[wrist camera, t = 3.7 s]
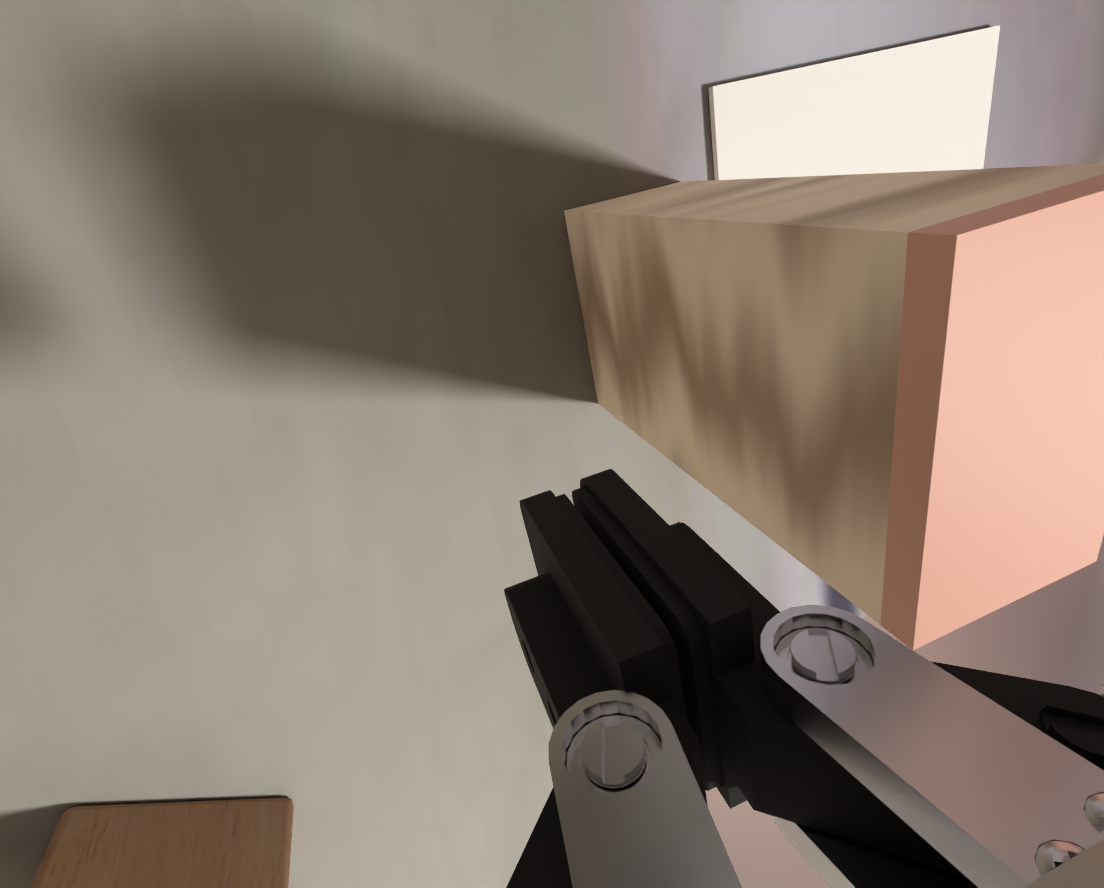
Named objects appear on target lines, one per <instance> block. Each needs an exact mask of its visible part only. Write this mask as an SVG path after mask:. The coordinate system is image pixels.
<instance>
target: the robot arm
mask: <svg viewBox="0 0 1104 888" xmlns="http://www.w3.org/2000/svg"><path fill="white" fill-rule="evenodd" d="M572 497H573V503H574V505H573V504H572V502H571V501H570V500H569V499H568V497H567V496H566V495H565V494H562V495H560V496H557V497H555V495H554V494H553V493H552V491H551V490H549V491H546V492H543V493H540V494H537V495H535V496H532V497H529V498H526V499H523V500H520V508H521V512H522V516H523V520H524V523H525V527H526V531H527V535H528V538H529V542H530V546H531V550H532V553H533V557H534V561H535V565H536V568H537V572H538V576H537V577H534V578H532V579H529V580H527V581H524V582H521V583H519V584H516V585H514V586H511V587H508V588H506V589H504V592H505V596H506V600H507V603H508V607H509V610H510V613H511V616H512V620H513V623H514V626H515V629H516V633H517V635H518V638H519V641H520V644H521V647H522V650H523V653H524V656H525V658H526V661H527V664H528V667H529V669H530V672H531V674H532V677H533V679H534V682H535V684H536V687H537V689H538V692H539V694H540V697H541V699H542V702H543V704H544V707H545V709H546V712H547V714H548V717H549V719H550V721H551V724H552V726H553V732H552V735H551V738H550V741H549V765H550V770H551V775H552V781H553V786H554V787H553V789H552V791H551V793H550V795H549V798H548V800H547V802H546V804H545V806H544V808H543V810H542V813H541V815H540V817H539V819H538V821H537V823H536V825H535V828H534V830H533V832H532V834H531V836H530V838H529V840H528V843H527V845H526V847H525V849H524V851H523V853H522V855H521V858H520V860H519V862H518V864H517V866H516V868H515V870H514V873H513V875H512V877H511V879H510V881H509V883H508V885H507V888H742V886H741V884H740V882H739V879H738V877H737V875H736V872H735V870H734V868H733V865H732V863H731V861H730V859H729V856H728V854H727V852H726V849H725V847H724V845H723V842H722V840H721V837H720V835H719V833H718V830H717V828H716V826H715V823H714V821H713V819H712V816H711V814H710V812H709V810H708V807H707V800H706V793H705V790H707V791H708V790H710V789H712V788H714V787H717V788H718V790H719V792H720V793H721V795H722V796H723V798H724V799H725V801H726V803H727V804H728V806H729V807H730V808H732V807H735V806H736V805H738V804H740V803H742V802H744V801H746V800H747V801H748V802H749V804H750V805H751V806H752V808H753V809H754V810H756V811H760V812H763V813H766V814H769V815H772V816H773V817H774V820H775V823H776V824H777V825H778V827H779V829H780V830H781V831H782V833H783V834H784V836H785V837H786V838H787V840H788V841H789V842H790V843H791V844H792V845H793V846H794V847H795V848H796V850H797V851H798V852H799V853H800V854H801V855H802V856H803V857H804V859H805V860H806V861H807V862H808V863H809V864H810V865H811V866H812V867H813V868H814V870H815V871H816V872H817V873H818V874H819V875H820V876H821V878H822V879H823V880H824V881H825V882H826V883H827V884H828V885H829V886H830V888H1104V685H1102V686H1101V690H1100V693H1099V695H1098V694H1096V693H1092V692H1089V691H1085V690H1081V689H1077V688H1073V687H1070V686H1064V685H1059V684H1053V683H1048V682H1042V681H1037V680H1031V679H1026V678H1019V677H1014V676H1008V675H1003V674H998V673H992V672H987V671H981V670H975V669H970V668H964V667H959V666H953V665H948V664H942V663H936V662H931V661H929V660H927V659H926V658H924V657H922V656H921V655H919V654H918V653H916V652H914V651H913V650H911V649H910V648H908V647H907V646H905V645H903V644H902V643H900V642H899V641H897V640H895V639H894V638H892V637H891V636H889V635H888V634H886V633H884V632H883V631H881V630H880V629H878V628H876V627H875V626H873V625H871V624H870V623H868V622H867V621H865V620H864V619H862V618H860V617H858V616H856V615H854V614H851V613H849V612H847V611H845V610H841V609H837V608H833V607H829V606H818V605H805V606H799V607H792V608H789V609H787V610H785V611H782V612H780V611H778V610H777V609H776V608H775V607H774V606H773V605H772V604H771V603H770V602H769V601H768V600H767V599H766V598H765V597H764V596H762V595H761V594H760V593H759V592H758V591H757V590H756V589H755V588H754V587H753V586H752V585H751V584H750V583H749V582H747V581H746V580H745V579H744V578H743V577H742V576H741V575H740V574H739V573H738V572H737V571H736V570H735V569H734V568H733V567H731V566H730V565H729V564H728V563H727V562H726V561H725V560H724V559H723V558H722V557H721V556H720V555H719V554H718V553H717V552H715V551H714V550H713V549H712V548H711V547H710V546H709V545H708V544H707V543H706V542H705V541H704V540H703V539H702V538H700V537H699V536H698V535H697V534H696V533H695V532H694V531H693V530H692V529H691V528H690V527H688V526H687V525H686V524H684V523H680V522H678V523H676V524H673V525H670V526H669V525H668V524H667V523H666V522H665V521H664V520H663V519H662V518H661V517H660V516H659V515H658V514H657V513H656V512H655V511H654V510H653V509H652V508H651V507H650V506H649V505H648V504H647V503H646V502H645V501H644V500H643V499H642V498H641V497H640V496H639V495H638V494H637V493H636V492H635V491H634V490H633V489H632V488H631V487H630V486H629V485H628V484H627V483H626V482H625V481H624V480H623V479H622V478H621V477H620V476H619V475H618V474H616V473H615V472H614V471H613V470H612V469H609V470H606V471H603V472H600V473H597V474H594V475H591V476H589V477H586V478H583V479H581V481H580V488H579V489H577V490H574V491H573V492H572Z"/></svg>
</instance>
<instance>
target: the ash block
mask: <svg viewBox="0 0 1104 888" xmlns="http://www.w3.org/2000/svg"><path fill="white" fill-rule="evenodd" d="M564 214H565V220H566V225H567V231H568V237H569V242H570V248H571V254H572V259H573V265H574V271H575V276H576V282H577V287H578V293H579V299H580V304H581V310H582V316H583V321H584V327H585V333H586V338H587V344H588V349H589V355H590V361H591V366H592V372H593V378H594V383H595V389H596V395H597V400H598V404H600V405H601V406H602V407H603V408H605V409H606V410H607V411H608V412H610V413H611V414H612V415H614V416H615V417H616V418H617V419H619V420H620V421H621V422H623V423H624V424H625V425H626V426H628V427H629V428H630V429H631V430H633V431H634V432H635V433H637V434H638V435H639V436H640V437H642V438H643V439H644V440H645V441H647V442H648V443H649V444H651V445H652V446H653V447H654V448H656V449H657V450H658V451H659V452H661V453H662V454H663V455H665V456H666V457H667V458H668V459H670V460H671V461H672V462H674V463H675V464H676V465H677V466H679V467H680V468H681V469H682V470H684V471H685V472H686V473H688V474H689V475H690V476H691V477H693V478H694V479H695V480H696V481H698V482H699V483H700V484H702V485H703V486H704V487H705V488H707V489H708V490H709V491H710V492H712V493H713V494H714V495H716V496H717V497H718V498H719V499H721V500H722V501H723V502H725V503H726V504H727V505H728V506H730V507H731V508H732V509H733V510H735V511H736V512H737V513H739V514H740V515H741V516H742V517H744V518H745V519H746V520H747V521H749V522H750V523H751V524H753V525H754V526H755V527H756V528H758V529H759V530H760V531H761V532H763V533H764V534H765V535H767V536H768V537H769V538H770V539H772V540H773V541H774V542H776V543H777V544H778V545H779V546H781V547H782V548H783V549H784V550H786V551H787V552H788V553H790V554H791V555H792V556H793V557H795V558H796V559H797V560H798V561H800V562H801V563H802V564H804V565H805V566H806V567H807V568H809V569H810V570H811V571H812V572H814V573H815V574H816V575H818V576H819V577H820V578H821V579H823V580H824V581H825V582H827V583H828V584H829V585H830V586H832V587H833V588H834V589H835V590H837V591H838V592H839V593H841V594H842V595H843V596H844V597H846V598H847V599H848V600H849V601H851V602H852V603H853V604H855V605H856V606H857V607H858V608H860V609H861V610H862V611H863V612H865V613H866V614H867V615H869V616H870V617H871V618H873V619H874V620H875V621H877V622H878V623H879V624H880V625H881V626H883V627H884V628H885V629H887V630H888V631H889V632H890V633H892V634H893V635H894V636H895V637H897V638H898V639H899V640H901V641H902V642H903V643H904V644H906V645H907V646H908V647H909V648H911V649H912V650H915V649H917V648H919V647H921V646H923V645H925V644H927V643H929V642H931V641H933V640H935V639H937V638H939V637H941V636H943V635H945V634H948V633H950V632H952V631H954V630H956V629H958V628H960V627H962V626H964V625H966V624H968V623H970V622H972V621H974V620H976V619H978V618H980V617H983V616H985V615H986V614H989V613H990V612H993V611H995V610H997V609H999V608H1001V607H1003V606H1005V605H1007V604H1009V603H1011V602H1013V601H1015V600H1017V599H1019V598H1021V597H1024V596H1026V595H1028V594H1030V593H1032V592H1034V591H1036V590H1038V589H1040V588H1042V587H1044V586H1046V585H1048V584H1050V583H1052V582H1054V581H1056V580H1059V579H1061V578H1063V577H1065V576H1067V575H1069V574H1071V573H1073V572H1075V571H1077V570H1079V569H1081V568H1083V567H1085V566H1087V565H1089V564H1091V563H1093V562H1095V561H1096V560H1097V556H1098V553H1099V549H1100V545H1101V542H1102V538H1103V535H1104V164H1086V165H1063V166H1039V167H1016V168H992V169H968V170H945V171H921V172H898V173H874V174H851V175H827V176H804V177H780V178H757V179H733V180H709V181H686V182H678V183H674V184H670V185H666V186H661V187H657V188H653V189H649V190H645V191H641V192H637V193H633V194H629V195H625V196H621V197H617V198H613V199H609V200H605V201H601V202H597V203H593V204H589V205H585V206H581V207H577V208H573V209H569V210H565V211H564Z"/></svg>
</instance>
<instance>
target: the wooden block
mask: <svg viewBox="0 0 1104 888" xmlns="http://www.w3.org/2000/svg"><path fill="white" fill-rule="evenodd" d="M293 809H294V807H293V803H292V800H291V799H289V798H263V799H239V800H215V801H191V802H167V803H143V804H119V805H95V806H75V807H72V808H68V809H67V810H66V811H65V812H64V814H63V815H62V816H61V817H60V819H59V821H58V823H57V826H56V828H55V830H54V832H53V835H52V837H51V839H50V841H49V844H48V846H47V848H46V851H45V853H44V855H43V857H42V860H41V862H40V864H39V866H38V869H37V871H36V873H35V875H34V878H33V880H32V882H31V885H30V887H29V888H288V882H289V868H290V853H291V838H292V823H293Z"/></svg>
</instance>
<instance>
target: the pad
mask: <svg viewBox="0 0 1104 888" xmlns="http://www.w3.org/2000/svg"><path fill="white" fill-rule="evenodd" d="M999 31H1000V25H999V26H994V27H990V28H985V29H980V30H975V31H971V32H966V33H961V34H957V35H952V36H947V37H943V38H938V39H933V40H928V41H924V42H919V43H914V44H910V45H905V46H900V47H895V48H891V49H886V50H881V51H877V52H872V53H867V54H862V55H858V56H853V57H848V58H844V59H839V60H834V61H829V62H825V63H820V64H815V65H811V66H806V67H801V68H797V69H792V70H787V71H782V72H778V73H773V74H768V75H764V76H759V77H754V78H749V79H745V80H740V81H735V82H731V83H726V84H721V85H716V86H712V87H709V88H708V90H709V104H710V119H711V134H712V149H713V163H714V178H715V180H733V179H757V178H780V177H804V176H827V175H851V174H874V173H898V172H921V171H945V170H968V169H983V165H984V156H985V148H986V140H987V131H988V123H989V115H990V106H991V98H992V89H993V81H994V73H995V64H996V56H997V48H998V39H999Z"/></svg>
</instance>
